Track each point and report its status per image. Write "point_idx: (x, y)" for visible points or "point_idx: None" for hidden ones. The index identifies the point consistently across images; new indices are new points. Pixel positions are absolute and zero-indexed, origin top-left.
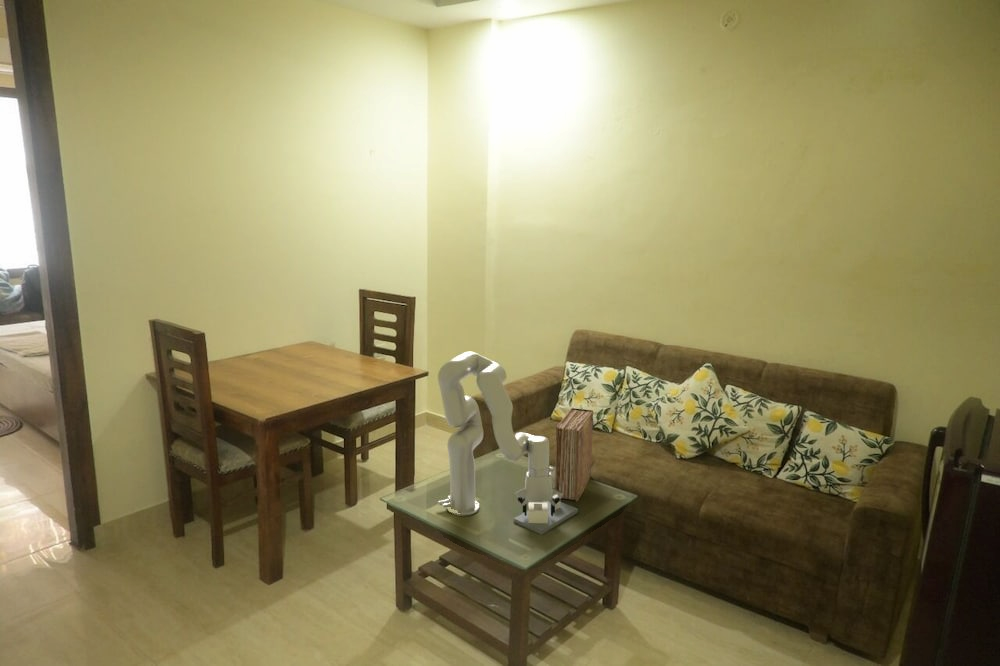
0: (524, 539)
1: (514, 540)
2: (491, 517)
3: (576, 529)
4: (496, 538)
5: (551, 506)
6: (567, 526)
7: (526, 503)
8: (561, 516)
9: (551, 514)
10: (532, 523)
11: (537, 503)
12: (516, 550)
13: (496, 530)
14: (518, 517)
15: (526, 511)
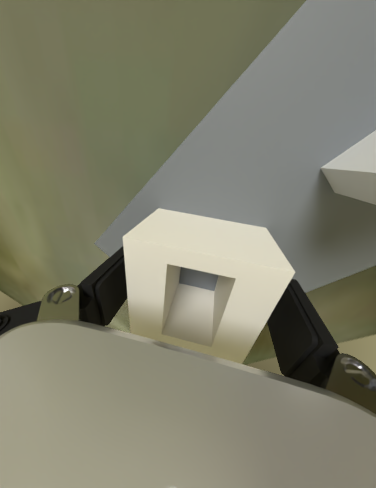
0: None
1: (121, 324)
2: (10, 183)
3: (346, 325)
4: None
5: (286, 374)
6: (321, 302)
7: (100, 299)
8: (339, 266)
9: (268, 320)
10: None
11: (197, 266)
12: None
13: (62, 274)
14: (112, 239)
15: (126, 298)
